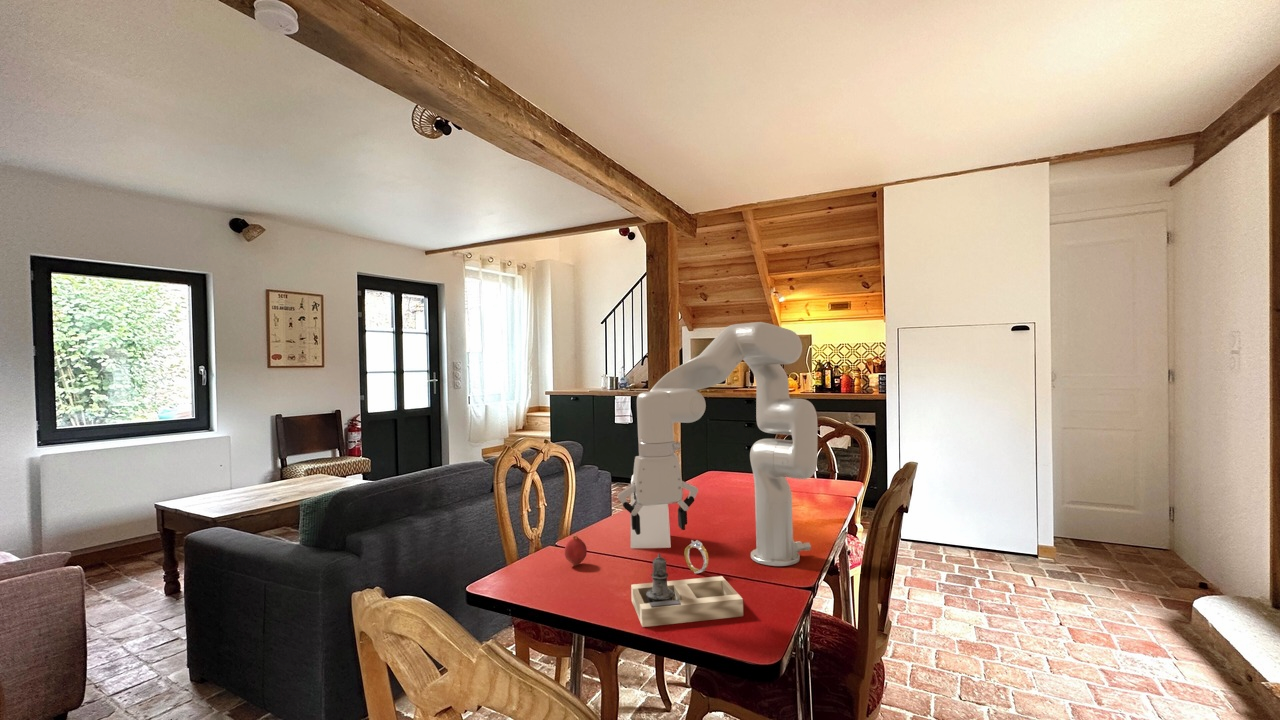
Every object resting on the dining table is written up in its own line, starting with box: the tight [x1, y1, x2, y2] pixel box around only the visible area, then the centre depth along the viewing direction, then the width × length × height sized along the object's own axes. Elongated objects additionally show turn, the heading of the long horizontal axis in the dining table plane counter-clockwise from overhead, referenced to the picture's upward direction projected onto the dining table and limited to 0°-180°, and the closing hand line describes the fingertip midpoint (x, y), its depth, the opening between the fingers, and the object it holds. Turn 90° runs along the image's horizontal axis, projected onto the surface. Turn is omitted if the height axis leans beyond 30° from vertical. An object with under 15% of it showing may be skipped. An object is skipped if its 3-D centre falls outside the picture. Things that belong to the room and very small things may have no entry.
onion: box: [564, 534, 588, 567], centre depth 146 cm, size 6×6×8 cm
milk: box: [630, 474, 672, 549], centre depth 165 cm, size 12×12×26 cm
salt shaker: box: [646, 553, 674, 603], centre depth 117 cm, size 6×6×12 cm
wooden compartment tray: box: [630, 575, 744, 628], centre depth 118 cm, size 21×13×4 cm, turn 100°
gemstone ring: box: [683, 539, 709, 574], centre depth 138 cm, size 7×3×8 cm, turn 38°
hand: (659, 530), depth 118 cm, fingers open, 9 cm apart
